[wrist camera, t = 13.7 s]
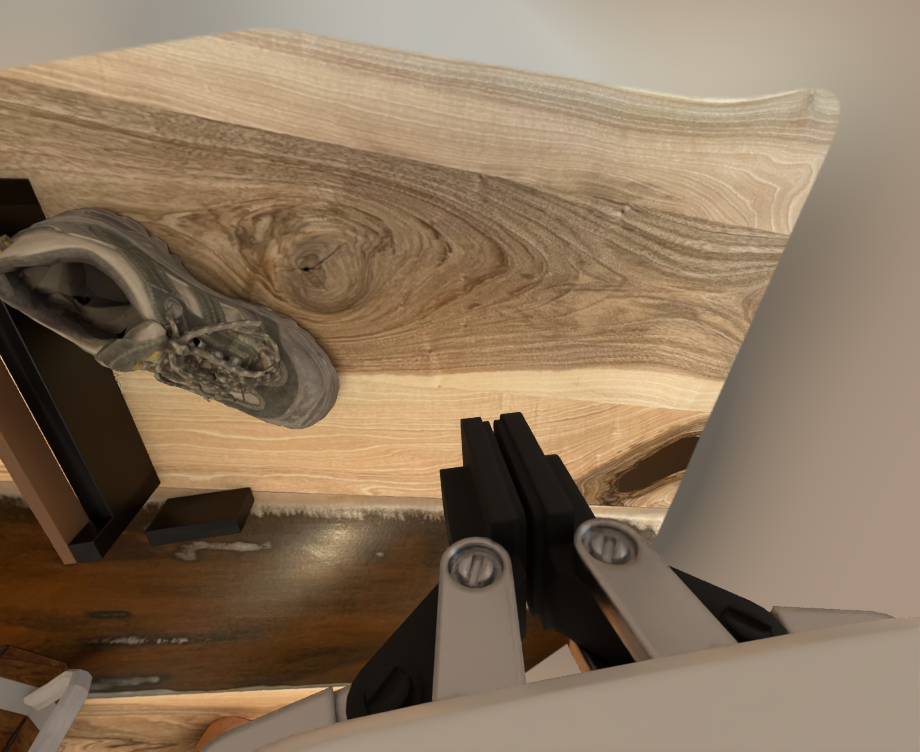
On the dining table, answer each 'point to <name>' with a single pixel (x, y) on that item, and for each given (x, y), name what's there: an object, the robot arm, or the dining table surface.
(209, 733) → the potted plant
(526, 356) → the dining table surface
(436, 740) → the robot arm
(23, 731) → the mug
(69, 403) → the shoe rack
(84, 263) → the hiking shoe
